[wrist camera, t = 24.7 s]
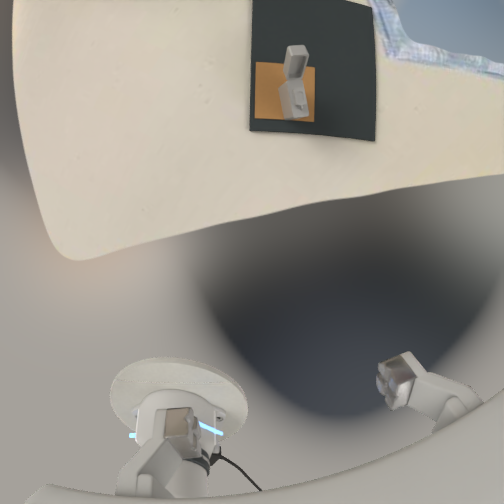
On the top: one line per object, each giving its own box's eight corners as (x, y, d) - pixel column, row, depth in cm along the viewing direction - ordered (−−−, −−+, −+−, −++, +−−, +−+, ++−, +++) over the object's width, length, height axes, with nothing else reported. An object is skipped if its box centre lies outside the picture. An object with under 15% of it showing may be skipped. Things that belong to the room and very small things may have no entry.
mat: (373, 141, 34) (375, 141, 34) (249, 130, 32) (250, 130, 32) (370, 8, 27) (372, 7, 27) (253, -13, 25) (253, -15, 25)
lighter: (298, 118, 32) (321, 113, 24) (284, 120, 32) (303, 115, 24) (287, 62, 29) (307, 43, 22) (272, 64, 29) (288, 44, 22)
